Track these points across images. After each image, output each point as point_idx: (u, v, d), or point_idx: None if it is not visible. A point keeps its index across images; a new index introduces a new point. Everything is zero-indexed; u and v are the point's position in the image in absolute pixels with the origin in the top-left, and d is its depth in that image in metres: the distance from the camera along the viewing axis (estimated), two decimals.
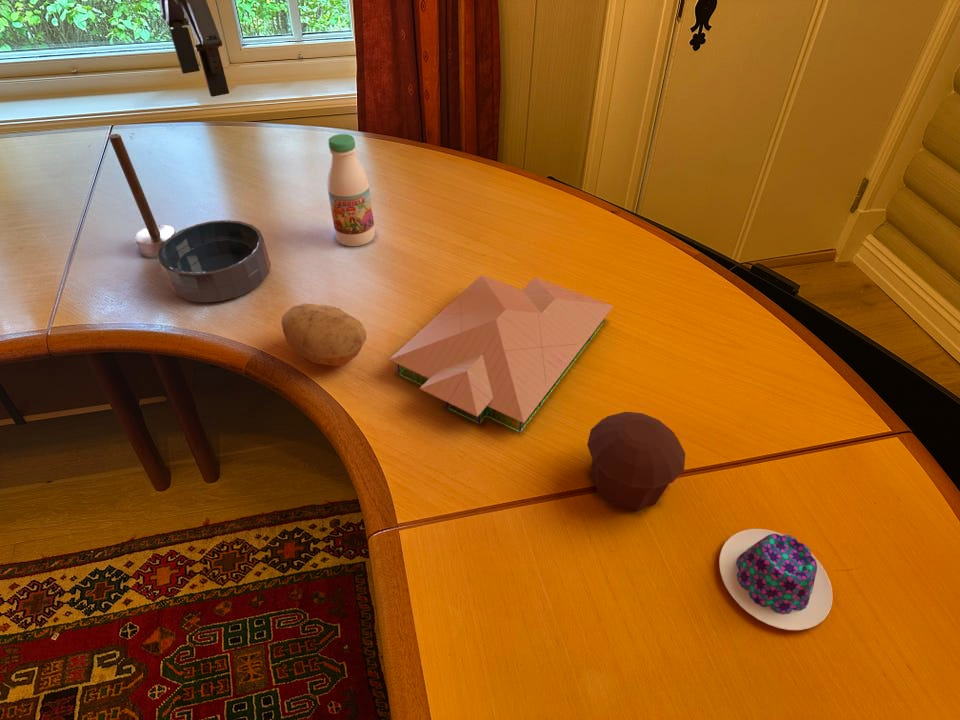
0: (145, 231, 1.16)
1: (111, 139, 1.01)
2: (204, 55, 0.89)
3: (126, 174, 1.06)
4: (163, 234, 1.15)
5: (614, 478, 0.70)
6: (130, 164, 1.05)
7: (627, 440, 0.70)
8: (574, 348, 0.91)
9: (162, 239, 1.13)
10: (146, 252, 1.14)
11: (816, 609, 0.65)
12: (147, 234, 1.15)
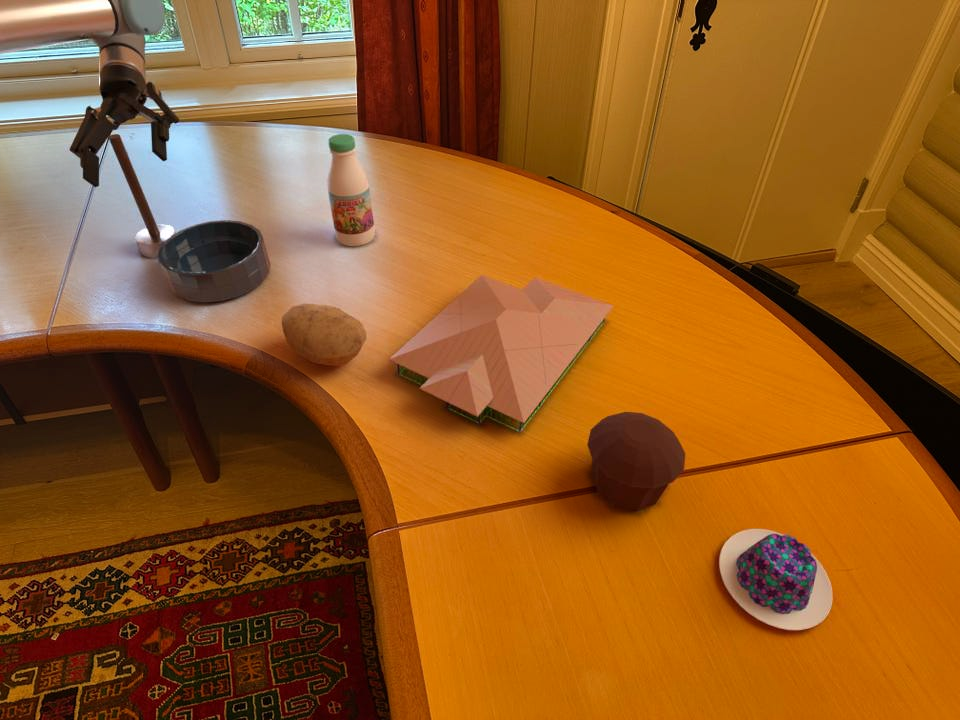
0: (145, 231, 1.15)
1: (111, 139, 1.01)
2: (156, 126, 1.05)
3: (125, 174, 1.05)
4: (163, 234, 1.15)
5: (614, 478, 0.70)
6: (130, 164, 1.05)
7: (627, 440, 0.70)
8: (574, 348, 0.91)
9: (162, 239, 1.13)
10: (146, 252, 1.14)
11: (816, 609, 0.65)
12: (147, 234, 1.15)
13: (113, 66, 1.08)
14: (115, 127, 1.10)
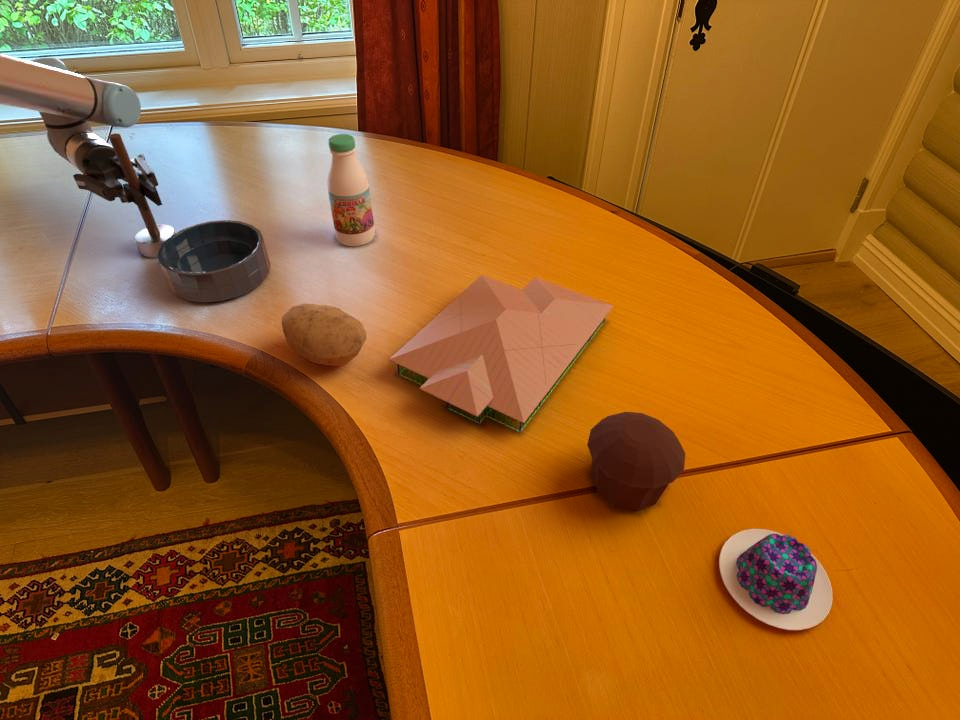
0: (145, 231, 1.15)
1: (111, 138, 1.01)
2: None
3: (125, 173, 1.06)
4: (163, 234, 1.15)
5: (614, 478, 0.70)
6: (130, 164, 1.05)
7: (627, 440, 0.70)
8: (574, 348, 0.91)
9: (162, 239, 1.13)
10: (146, 252, 1.14)
11: (816, 609, 0.65)
12: (146, 233, 1.15)
13: (96, 141, 1.15)
14: None
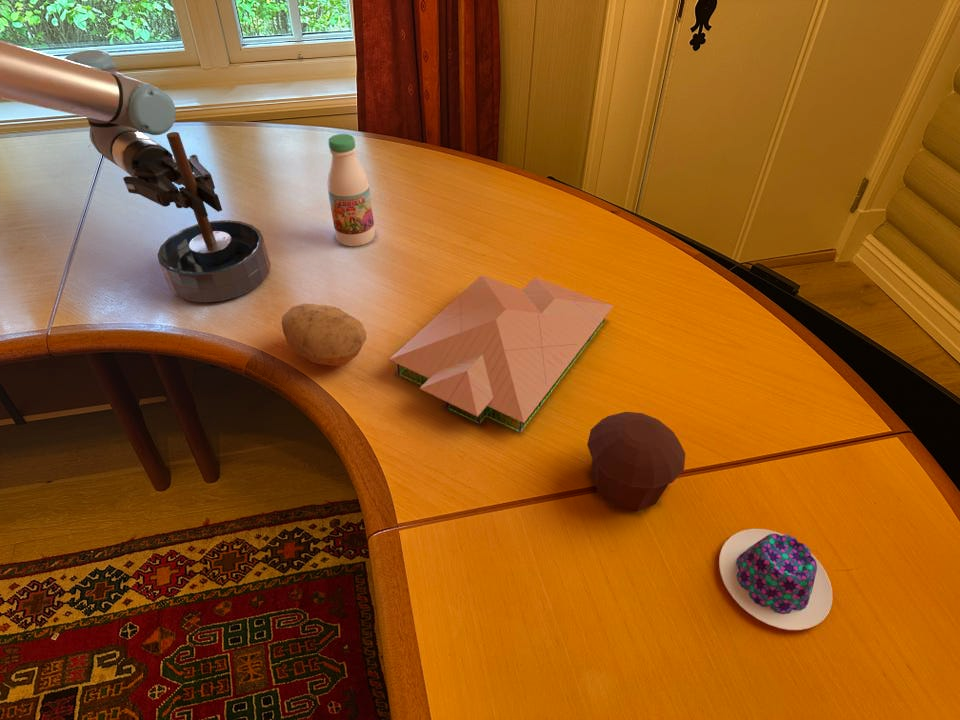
0: (199, 238, 1.06)
1: (169, 138, 0.92)
2: None
3: (183, 176, 0.96)
4: (219, 242, 1.05)
5: (614, 478, 0.70)
6: (188, 165, 0.95)
7: (627, 441, 0.70)
8: (574, 348, 0.91)
9: (219, 247, 1.04)
10: (201, 261, 1.04)
11: (816, 609, 0.65)
12: (201, 241, 1.05)
13: (146, 140, 1.06)
14: None
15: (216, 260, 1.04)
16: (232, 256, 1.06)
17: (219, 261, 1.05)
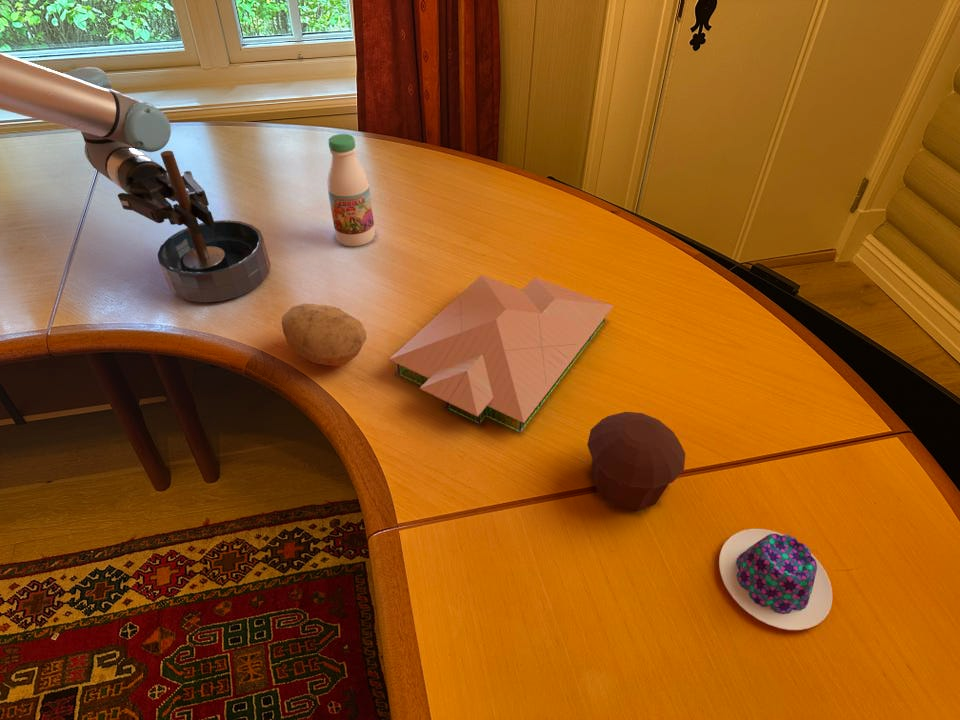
0: (193, 253, 1.07)
1: (163, 156, 0.93)
2: None
3: (177, 193, 0.97)
4: (213, 257, 1.06)
5: (614, 478, 0.70)
6: (182, 183, 0.97)
7: (627, 441, 0.70)
8: (574, 348, 0.91)
9: (213, 263, 1.05)
10: None
11: (816, 609, 0.65)
12: (195, 257, 1.06)
13: (140, 156, 1.07)
14: None
15: None
16: None
17: None
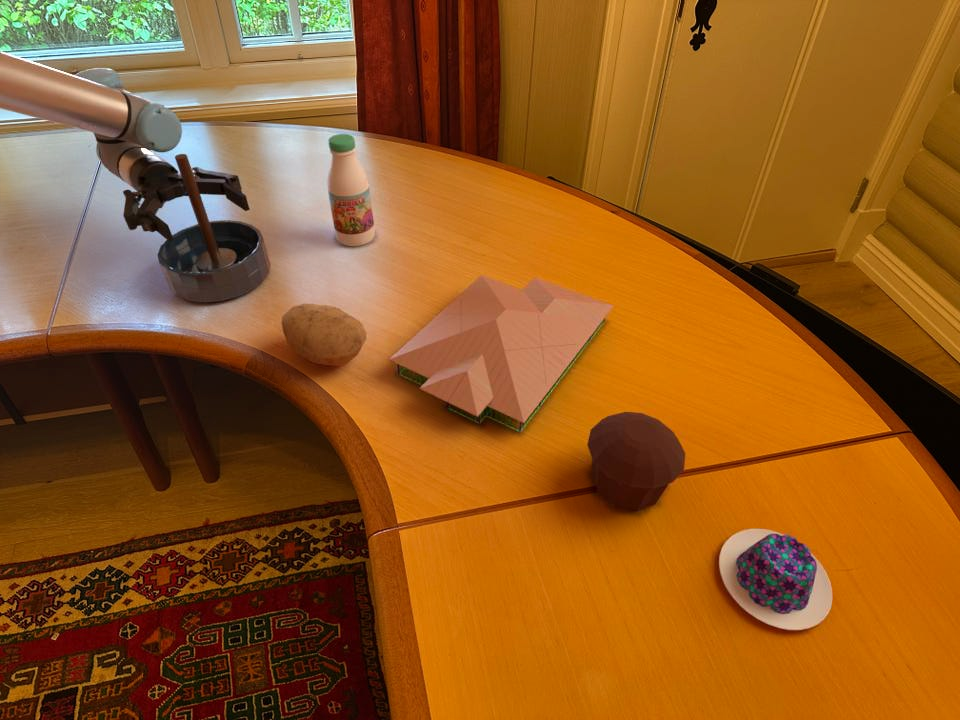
0: (205, 255, 1.08)
1: (177, 159, 0.94)
2: None
3: (190, 196, 0.98)
4: (225, 259, 1.07)
5: (614, 478, 0.70)
6: (195, 186, 0.98)
7: (627, 441, 0.70)
8: (574, 348, 0.91)
9: (225, 264, 1.06)
10: None
11: (816, 609, 0.65)
12: (207, 258, 1.08)
13: (152, 156, 1.08)
14: (160, 205, 1.05)
15: None
16: None
17: None
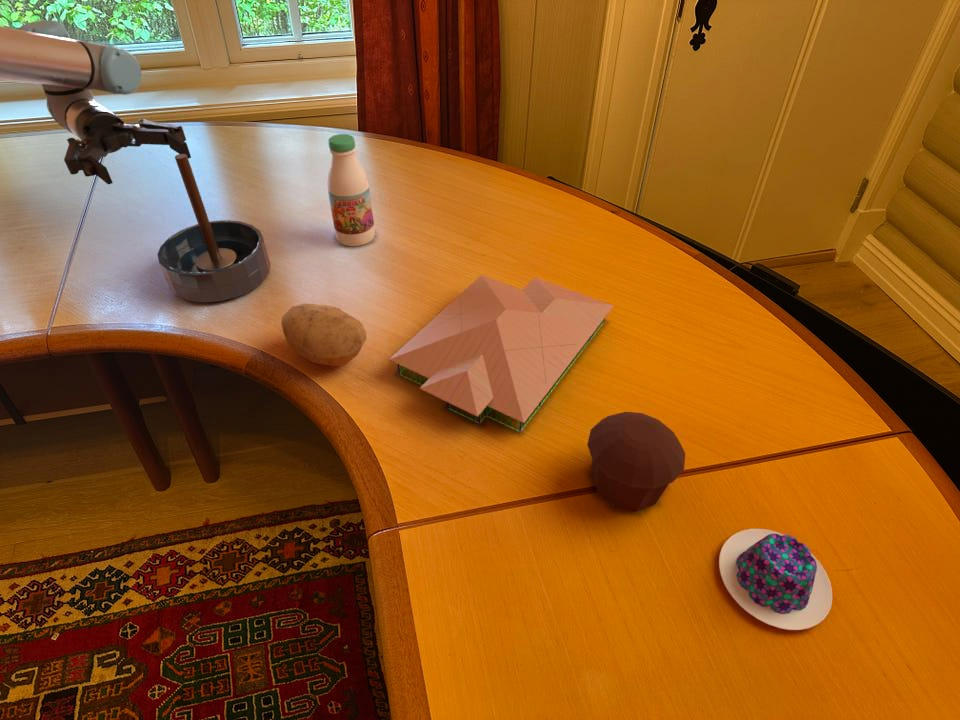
0: (205, 255, 1.08)
1: (177, 159, 0.94)
2: None
3: (190, 196, 0.98)
4: (225, 259, 1.07)
5: (614, 478, 0.70)
6: (195, 186, 0.98)
7: (627, 440, 0.70)
8: (574, 348, 0.91)
9: (225, 264, 1.06)
10: None
11: (816, 609, 0.65)
12: (207, 258, 1.08)
13: (98, 107, 1.10)
14: (104, 154, 1.07)
15: None
16: None
17: None
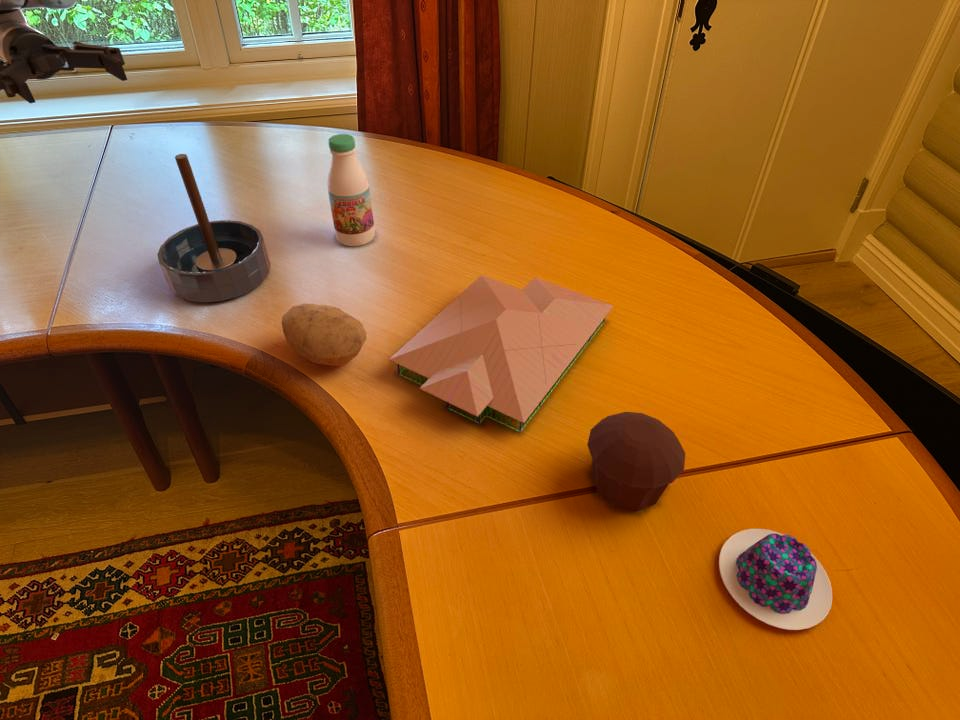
0: (205, 255, 1.08)
1: (177, 159, 0.94)
2: None
3: (190, 196, 0.98)
4: (225, 259, 1.07)
5: (614, 478, 0.70)
6: (195, 186, 0.98)
7: (627, 440, 0.70)
8: (574, 348, 0.91)
9: (225, 264, 1.06)
10: None
11: (816, 609, 0.65)
12: (207, 258, 1.08)
13: (27, 27, 1.00)
14: (32, 76, 0.97)
15: None
16: None
17: None
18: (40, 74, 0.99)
